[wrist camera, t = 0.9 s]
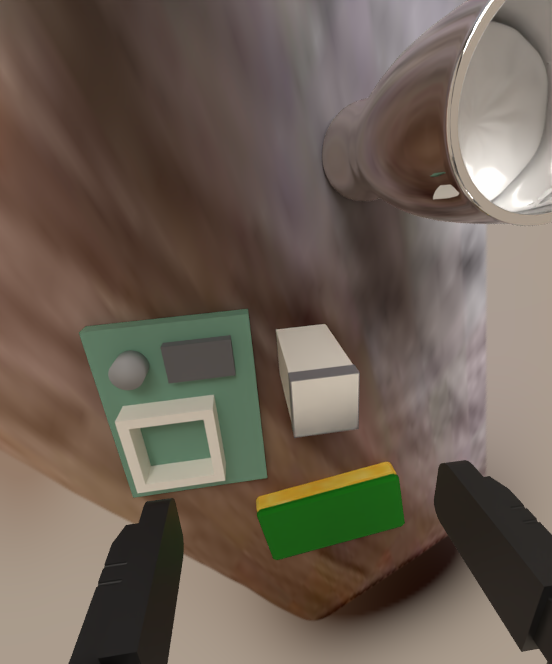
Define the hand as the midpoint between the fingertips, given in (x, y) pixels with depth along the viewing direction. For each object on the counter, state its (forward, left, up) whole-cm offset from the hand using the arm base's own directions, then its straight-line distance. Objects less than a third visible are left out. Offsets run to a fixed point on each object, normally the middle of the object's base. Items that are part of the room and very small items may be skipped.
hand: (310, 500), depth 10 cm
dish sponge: (+22, +5, -18) cm, 29 cm away
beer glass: (-10, +8, -18) cm, 22 cm away
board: (+8, -7, -18) cm, 20 cm away
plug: (+4, +3, -18) cm, 18 cm away
